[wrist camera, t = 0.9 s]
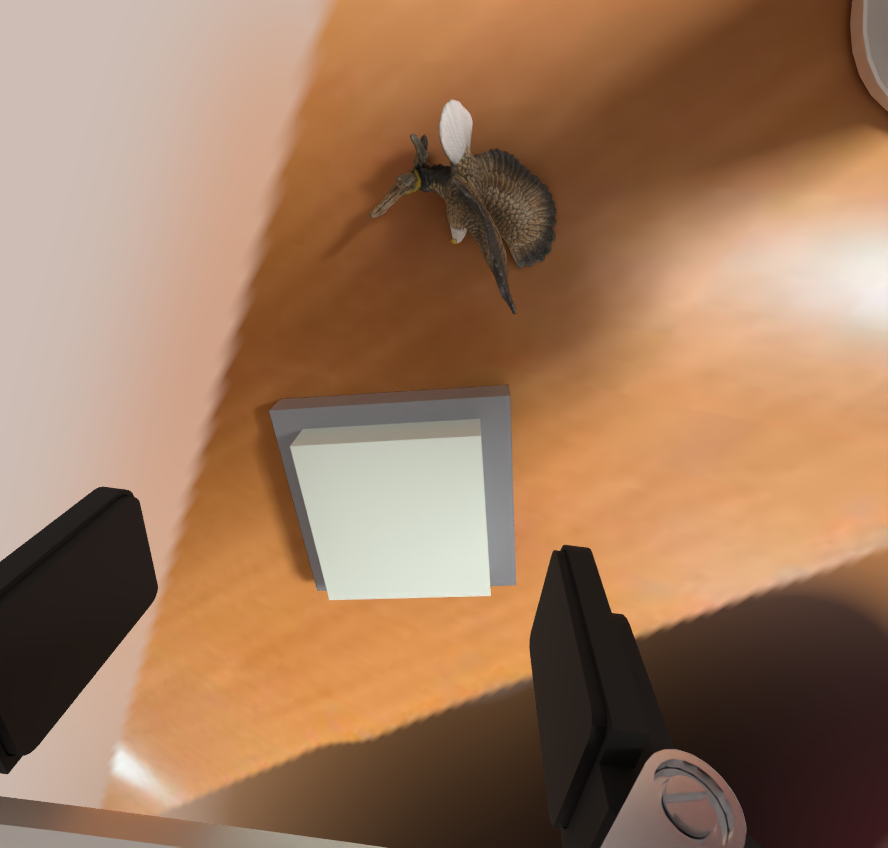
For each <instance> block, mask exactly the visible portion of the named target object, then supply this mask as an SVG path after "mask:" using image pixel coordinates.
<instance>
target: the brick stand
mask: <svg viewBox="0 0 888 848" xmlns="http://www.w3.org/2000/svg"><path fill="white" fill-rule="evenodd" d="M269 413H270V416H271V420H272V424H273V428H274V431H275V435H276V439H277V442H278V446H279V450H280V454H281V457H282V461H283V465H284V468H285V472H286V476H287V480H288V483H289V487H290V491H291V495H292V498H293V502H294V506H295V509H296V513H297V517H298V521H299V524H300V528H301V532H302V535H303V539H304V543H305V547H306V550H307V554H308V558H309V562H310V565H311V569H312V573H313V576H314V580H315V584H316V588H317V591H327V593H328V596H329V600H349V599H387V598H426V597H464V596H491V592H490V586H508V585H516V567H515V535H514V503H513V471H512V439H511V407H510V392H509V387H508V385H494V386H479V387H463V388H447V389H432V390H416V391H400V392H385V393H369V394H353V395H338V396H322V397H306V398H291V399H280V400H279V401H278V402H277V403H276V404H275V405H274V406H273V407H272V408H271V409H270V410H269Z"/></svg>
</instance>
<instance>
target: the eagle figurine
mask: <svg viewBox="0 0 888 848" xmlns="http://www.w3.org/2000/svg"><path fill="white" fill-rule="evenodd" d="M472 125H473V123H472V118H471V115H470V113H469V112H468V111H467V110H466V109H465V108H464V107H463V106H462V104H461V103H460V101H455V100H453V99H451V100H450V101H449V102H448V103H446V104H445V105H444V107H443V110H442V114H441V117H440V123H439V135H440V142H441V145H442V148H443V150H444V152H445V154H446V155H447V157H448V158H449V160H450V163H451V166H443V165H442V164H439V165H435V164H434V165H433V167H432V165H431V164H430V163H428V160H427V159H428V156H429V153H428V151H427V147H428V140H427V136H426V135H425V134H424V135H423V136H422V137H421V141H420V139H419V138H418V136H417V135H415V134H411V135H410V138H411V140H412V142H413V144H414V146H415V149H416V156H415V160H414V164H415V166H414V167H413V168H412V169H411V170H410V171H409V172H407V173H406V174H400V175H398V176H397V177H396V183H395V184H394V186H393V187H392V188H391V190H390V191H389V192H388V193H387V195H386V196H385V197H384V199H383V200H382V201H381V202H380V203H379V204H378V205H377V206H376V207H375V208H374V209H373V210H372V211H371V213H370V217H372V218H376V217H379V216H381V215H383V214H385V213H386V211H387V210H388V209H389V208H390V207H391V206H392V205H393V204H394V203H396V202H397V200H398V199H399V198H400V197H401V196H404V195H408V194H410V193H413V192H415V191H417V190H421V191H424V192H435V193H436V194H437V195H439V196H440V197H442V198H443V199H444V201H445V203H446V204H447V205H446V214H447V219H448V221H449V225H450V228H451V233H452V237H453V238H452V240H451V243H452V244H457V243H460V242H461V241H462V240H463V238H464V237H465V235H466V233H467V230H468V231H469V233H470V234H471V235H472V236H473V237H474V239H475V240H476V241H477V243H478V245H479V246H480V249H481V251H482V253H483V256H484V258H485V260H486V262H487V264H488V266H489V267H490V269H491V270H492V272H493V274H494V276H495V279H496V282H497V285H498V287H499V290H500V293H501V295H502V297H503V299H504V300H505V301H506V302H507V304H508V306H509V307H510V309H511V311H512V313H513V314H516V308H515V305H514V303H513V301H512V298H511V295H510V292H509V287H508V266H507V256H506V251H505V247H504V245H503V243H502V239H501V237H502V238H503V239H504V240H505V242H506V243H507V245H508V248H509V250H510V253H511V255H512V256H513V259H514V261H515V263H516V264H517V265H518V267H519V268H523V267H524V266H525V265H528V266H533V265H534V263H535V261H538V262H542V261H544V259H545V255H548V254H549V253H550V252H551V242H553V241H554V240H555V233H554V231H553V229H552V227H553V226H555V225H556V220H555V218H554V215H555V214H556V208H555V204H554V201H553V200H552V195H551V193H550V192H549V191H548V188H547V186H546V185H544V184H542V182H541V181H540V180H539V179H538V177H537V176H535V175H532V174H531V172H530V171H529V170H528V169H527V168H526V167H525V166H524V165H522V164H520V162H519V160H518V159H516V158H515V157H514V156H513V155H511V154H509V153H508V152H502V151H501V150H499V149H495V150H494V149H490V150H489V152H488V153H487V152H484V153H482V155H479V154H476V155H475V156H473V154H472V153H471V151H470V145H471V134H472Z"/></svg>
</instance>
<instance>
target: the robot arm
mask: <svg viewBox="0 0 888 848" xmlns="http://www.w3.org/2000/svg"><path fill="white" fill-rule="evenodd" d="M850 29H851V42H852V52H853V56H854V59H855V63H856V66H857V70H858V73H859V76H860V78H861V79H862V81H863V83H864V85H865V86H866V88H867V90H868V91H869V93H870V95H871V96H872V97H873V98H874V99H875V100H876V101H877V102H878V103H879V104H880V105H881V106H882V107H883V108H884V109H885V110H886V111H888V0H852V8H851V18H850ZM157 590H158V584H157V580H156V575H155V571H154V566H153V561H152V557H151V552H150V547H149V543H148V538H147V534H146V529H145V525H144V520H143V515H142V511H141V506H140V502H139V500H138V499H137V498H135V497H134V496H133V493H132V492H131V491H129V490H125V489H116V488H108V487H99V488H97V489H95V490H93V491H92V492H91V493H90V494H88V495H87V496H86V497H84V498H83V499H82V500H80V501H79V502H78V503H77V504H75V505H74V506H73V507H71V508H70V509H69V510H68V511H66V512H65V513H63V514H62V515H61V516H60V517H58V518H57V519H56V520H54V521H53V522H52V523H50V524H49V525H48V526H46V527H45V528H44V529H42V530H41V531H40V532H39V533H37V534H36V535H35V536H33V537H32V538H31V539H29V540H28V541H27V542H25V544H23V545H22V546H20V547H19V548H18V549H16V550H15V551H14V552H13V553H11V554H10V555H8V556H7V557H6V558H5V559H3V560H2V561H1V562H0V773H2V774H8V773H9V772H10V771H11V769H12V768H13V767H14V766H15V765H16V764H17V762H18V761H19V760H20V759H21V757H22V756H23V755H27V754H29V753H31V752H32V751H33V750H34V749H35V748H36V747H37V746H38V745H39V744H40V743H41V741H42V740H43V739H44V738H45V737H46V735H47V734H48V732H49V731H50V730H51V729H52V728H53V726H54V725H55V724H56V723H57V722H58V720H59V719H60V718H61V717H62V715H63V714H64V713H65V712H66V710H67V709H68V708H69V706H70V705H71V704H72V703H73V702H74V700H75V699H76V698H77V697H78V695H79V694H80V693H81V692H82V690H83V689H84V688H85V687H86V685H87V684H88V683H89V682H90V680H91V679H92V678H93V677H94V675H95V674H96V673H97V671H98V670H99V669H100V668H101V667H102V665H103V664H104V663H105V661H106V660H107V659H108V657H109V656H110V655H111V654H112V653H113V651H114V650H115V649H116V648H117V646H118V645H119V644H120V643H121V641H122V640H123V639H124V638H125V636H126V635H127V634H128V633H129V631H130V630H131V629H132V628H133V626H134V625H135V624H136V623H137V621H138V620H139V619H140V618H141V616H142V615H143V614H144V613H145V611H146V610H147V609H148V608H149V606H150V605H151V604H152V602H153V601H154V599H155V597H156V594H157ZM530 657H531V665H532V674H533V683H534V691H535V700H536V708H537V717H538V725H539V734H540V742H541V751H542V758H543V768H544V777H545V785H546V793H547V802H548V811H549V817H550V821H551V824H552V825H554V826H560V831H561V839H562V846H563V848H762V847H761V846H760V845H759V844H757V843H756V842H755V841H754V840H753V839H752V838H751V837H750V836H749V835H747V834H746V824H745V819H744V815H743V811H742V809H741V807H740V805H739V803H738V801H737V799H736V797H735V795H734V793H733V791H732V790H731V789H730V788H729V786H728V785H727V784H726V782H725V781H724V779H723V778H722V777H721V776H720V775H719V774H718V773H717V772H716V771H715V770H713V769H712V768H711V767H710V766H709V765H708V764H707V763H705V762H703V761H702V760H700V759H699V758H697V757H695V756H694V755H692V754H689V753H686V752H683V751H680V750H674V747H673V745H672V742H671V739H670V736H669V733H668V731H667V728H666V725H665V722H664V719H663V716H662V714H661V711H660V708H659V706H658V703H657V700H656V697H655V694H654V691H653V689H652V686H651V683H650V680H649V677H648V675H647V672H646V669H645V666H644V663H643V661H642V658H641V655H640V652H639V650H638V647H637V644H636V641H635V638H634V635H633V633H632V630H631V627H630V624H629V622H628V620H627V618H626V617H625V616H624V615H623V614H615V613H611V609H610V606H609V603H608V600H607V597H606V594H605V591H604V588H603V585H602V582H601V579H600V576H599V572H598V569H597V566H596V563H595V560H594V557H593V554H592V551H591V549H589V548H586V547H578V546H570V545H563V546H562V548H561V551H557V550H554V551H553V553H552V556H551V559H550V563H549V567H548V571H547V574H546V578H545V582H544V586H543V589H542V593H541V597H540V601H539V604H538V608H537V612H536V616H535V619H534V623H533V627H532V630H531V635H530ZM0 848H385V847H378V846H370V845H363V844H356V843H349V842H342V841H334V840H327V839H320V838H313V837H305V836H298V835H291V834H284V833H276V832H269V831H262V830H254V829H247V828H239V827H231V826H224V825H217V824H209V823H202V822H194V821H187V820H179V819H172V818H164V817H157V816H149V815H142V814H134V813H126V812H119V811H111V810H104V809H96V808H88V807H80V806H72V805H64V804H56V803H49V802H41V801H33V800H25V799H17V798H9V797H1V796H0Z"/></svg>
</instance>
